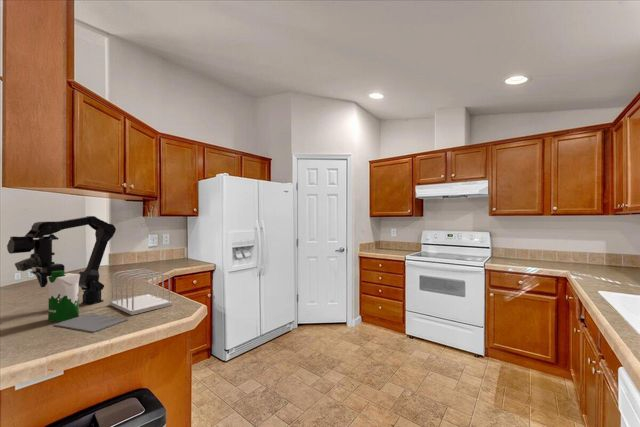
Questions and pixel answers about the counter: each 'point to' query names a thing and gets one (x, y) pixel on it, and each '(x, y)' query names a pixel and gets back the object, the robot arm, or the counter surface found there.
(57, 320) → the soya milk
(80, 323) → the mat
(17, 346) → the counter surface
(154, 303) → the file sorter
